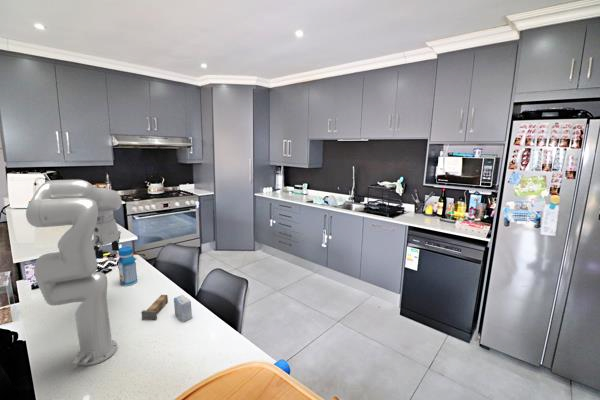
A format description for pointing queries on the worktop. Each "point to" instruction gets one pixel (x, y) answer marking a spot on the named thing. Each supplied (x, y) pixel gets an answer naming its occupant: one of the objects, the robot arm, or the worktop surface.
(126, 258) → the beverage bottle
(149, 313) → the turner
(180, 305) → the medicine box
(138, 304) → the worktop surface
